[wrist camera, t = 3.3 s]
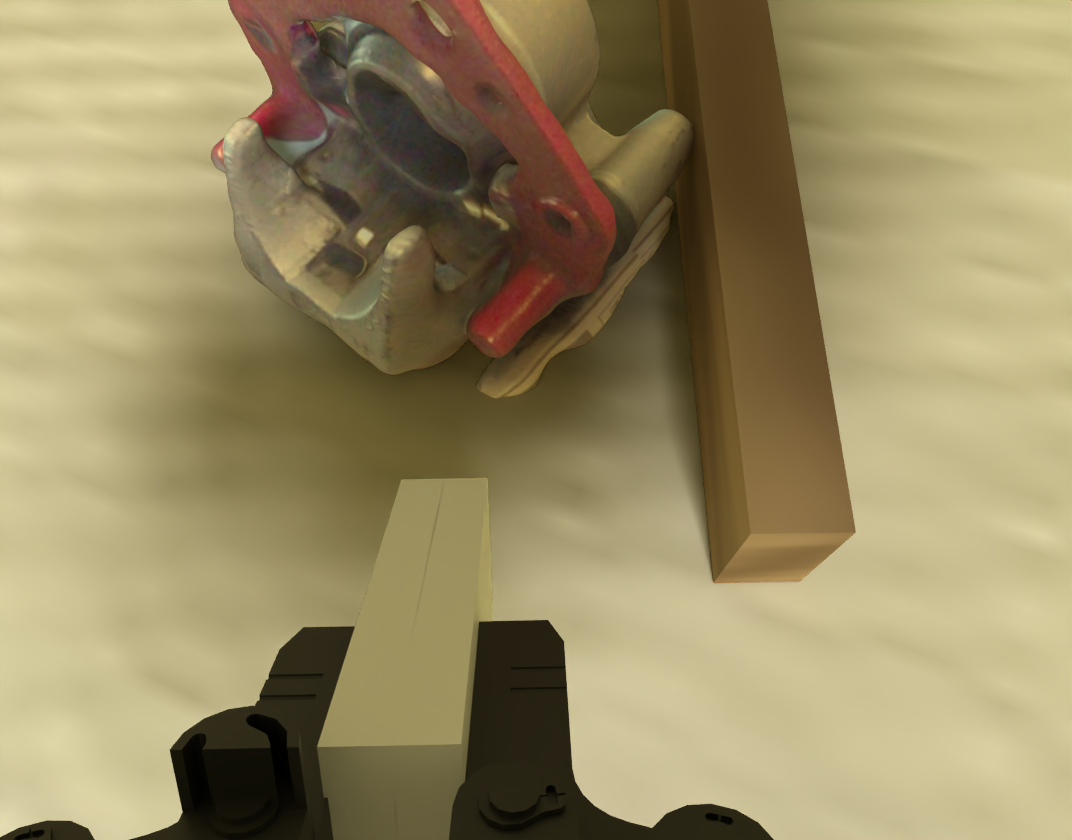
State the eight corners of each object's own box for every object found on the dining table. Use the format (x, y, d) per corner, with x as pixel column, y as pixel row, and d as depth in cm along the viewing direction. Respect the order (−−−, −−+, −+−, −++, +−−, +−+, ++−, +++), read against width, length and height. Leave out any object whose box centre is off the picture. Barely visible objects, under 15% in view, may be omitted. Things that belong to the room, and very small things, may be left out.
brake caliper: (65, 249, 21) (119, -359, 15) (358, 192, 30) (472, -205, 24) (418, 522, 19) (674, -84, 12) (628, 371, 27) (839, -25, 21)
